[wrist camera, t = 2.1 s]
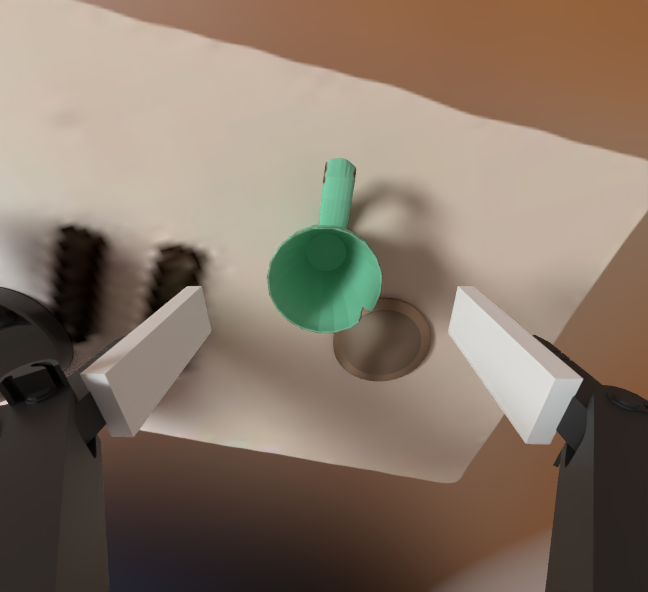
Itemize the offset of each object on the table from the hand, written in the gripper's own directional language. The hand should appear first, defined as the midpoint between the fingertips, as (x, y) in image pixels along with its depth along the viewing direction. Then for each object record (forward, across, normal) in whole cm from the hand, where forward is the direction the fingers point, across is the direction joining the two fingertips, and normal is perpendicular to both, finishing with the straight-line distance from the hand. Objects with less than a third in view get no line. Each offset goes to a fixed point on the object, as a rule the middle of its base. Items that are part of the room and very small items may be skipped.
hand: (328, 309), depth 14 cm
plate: (+19, +7, -15) cm, 25 cm away
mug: (+19, 0, 0) cm, 19 cm away
